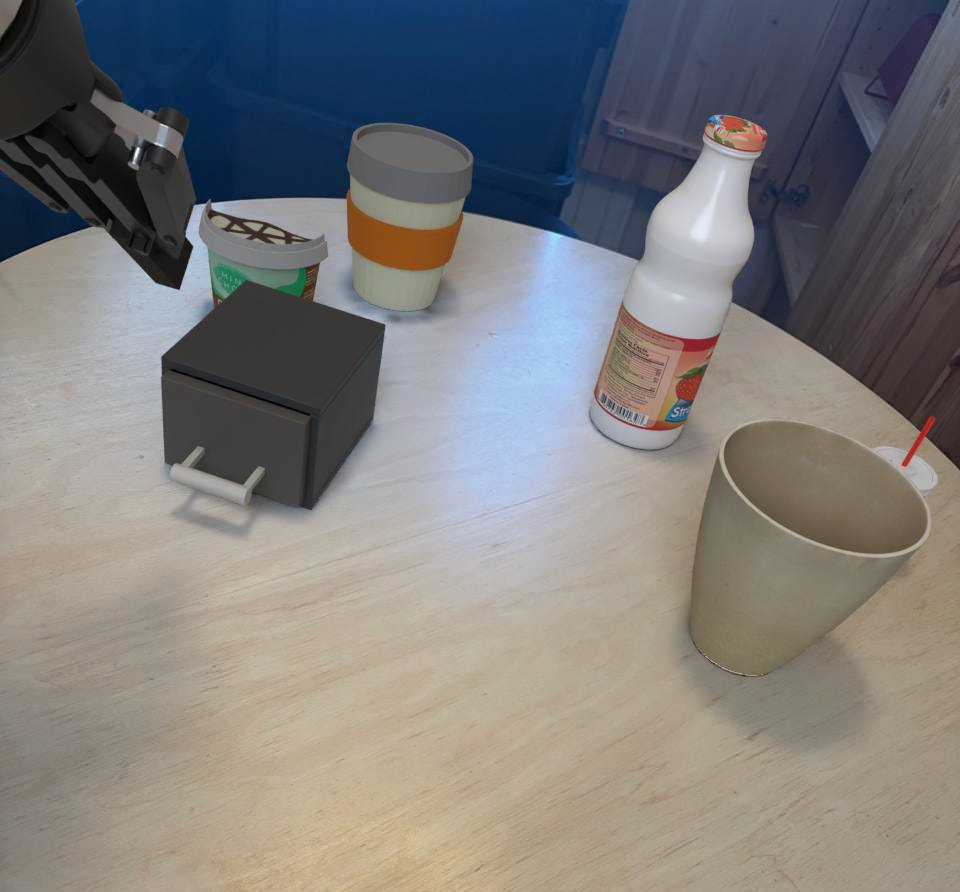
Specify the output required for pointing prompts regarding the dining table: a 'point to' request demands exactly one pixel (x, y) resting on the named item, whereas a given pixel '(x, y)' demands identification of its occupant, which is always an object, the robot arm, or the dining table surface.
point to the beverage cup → (913, 462)
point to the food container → (258, 255)
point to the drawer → (233, 441)
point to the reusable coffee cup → (404, 211)
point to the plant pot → (795, 540)
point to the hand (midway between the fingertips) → (174, 264)
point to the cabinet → (292, 366)
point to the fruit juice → (679, 293)
